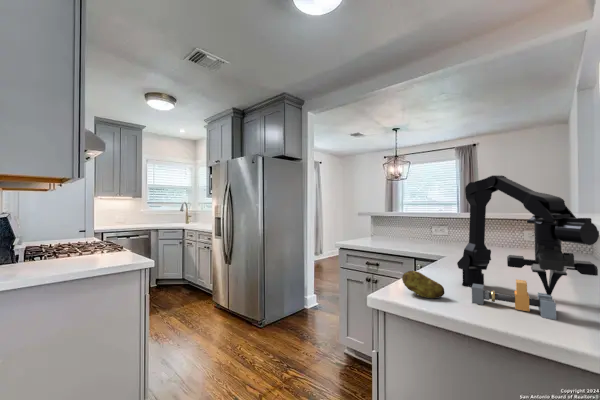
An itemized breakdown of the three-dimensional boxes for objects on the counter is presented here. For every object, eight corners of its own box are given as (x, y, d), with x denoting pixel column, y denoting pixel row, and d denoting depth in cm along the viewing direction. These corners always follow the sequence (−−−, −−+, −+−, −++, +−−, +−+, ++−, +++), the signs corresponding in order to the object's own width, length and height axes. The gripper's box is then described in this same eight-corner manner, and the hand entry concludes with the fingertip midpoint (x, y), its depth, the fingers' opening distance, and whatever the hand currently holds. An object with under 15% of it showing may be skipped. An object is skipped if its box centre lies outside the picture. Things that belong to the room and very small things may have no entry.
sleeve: (515, 309, 81) (514, 282, 81) (514, 304, 85) (514, 279, 85) (529, 311, 79) (528, 284, 79) (528, 306, 83) (527, 280, 83)
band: (491, 302, 85) (491, 291, 85) (491, 299, 88) (491, 289, 88) (494, 303, 84) (494, 292, 85) (494, 300, 87) (494, 289, 87)
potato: (435, 303, 87) (435, 278, 87) (398, 293, 97) (398, 271, 97) (447, 297, 92) (446, 274, 92) (411, 289, 102) (410, 267, 102)
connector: (472, 302, 87) (471, 287, 87) (473, 298, 91) (473, 283, 91) (489, 305, 85) (488, 289, 85) (489, 301, 89) (489, 285, 89)
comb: (541, 317, 76) (541, 300, 76) (537, 307, 83) (537, 292, 83) (556, 319, 74) (555, 303, 74) (551, 309, 81) (550, 294, 82)
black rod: (481, 298, 87) (481, 292, 87) (481, 296, 89) (481, 290, 89) (539, 307, 79) (539, 300, 79) (539, 305, 80) (538, 298, 80)
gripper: (507, 240, 78) (508, 296, 78) (603, 246, 67) (605, 310, 67) (506, 236, 87) (507, 286, 87) (591, 241, 76) (592, 297, 75)
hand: (548, 294), depth 79 cm, fingers closed
